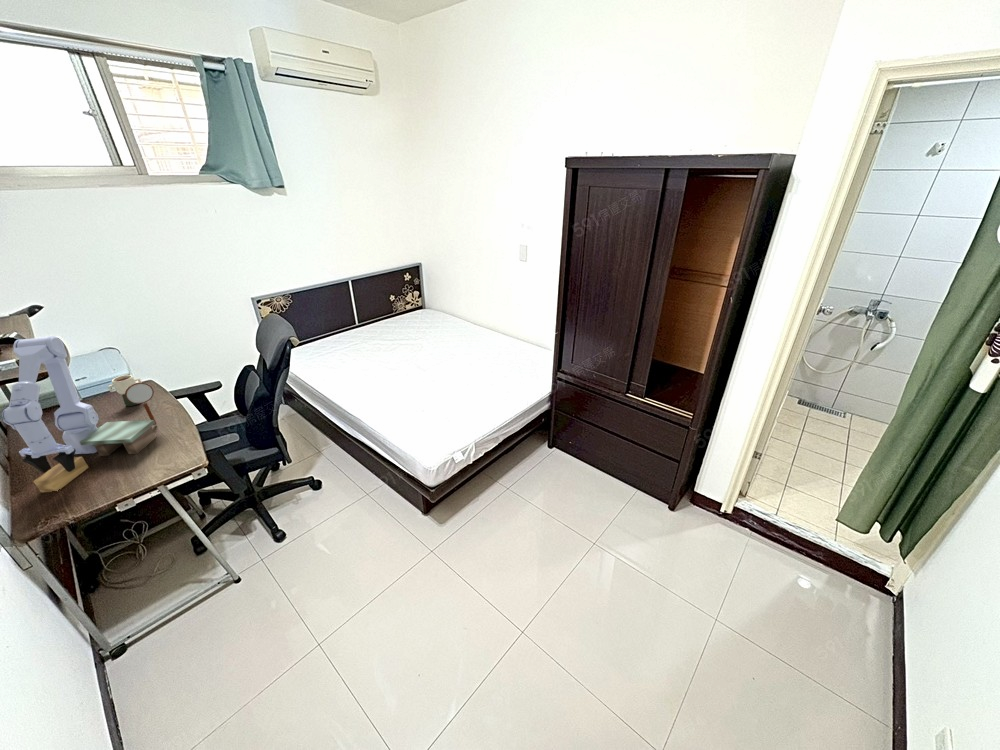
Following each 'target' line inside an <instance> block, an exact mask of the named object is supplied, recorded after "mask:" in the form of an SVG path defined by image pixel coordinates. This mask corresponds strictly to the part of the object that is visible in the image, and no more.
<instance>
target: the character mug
mask: <svg viewBox="0 0 1000 750" xmlns="http://www.w3.org/2000/svg"><path fill="white" fill-rule="evenodd" d="M136 381H137V382H136ZM111 383H112V384H110V385H107V387H108V389H109V392H110V393H114V392H116V393H118V394H119V395H121V397H122V400H123V403H124V405H125V406H127V407H129V406H136V405H137V404H135V403H131V402H129V401H128V400H127V399H126V397H125V392H126V390H127V388H128V387H129V386H131V385H133V384H135V383H143V382H142V380H141V378H139V377H137V378H134V376H133V375H131V374H123V375H120V376H117V377H114V378H113V379H112V380H111ZM113 387H114V389H113Z"/></svg>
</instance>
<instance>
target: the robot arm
mask: <svg viewBox="0 0 1000 750" xmlns="http://www.w3.org/2000/svg"><path fill="white" fill-rule="evenodd" d="M12 348H13V353H14V354H15V357H17V358H18V360H19V361H18V366H19V367H18V382H16V383H14V384H13V385H12V388H11V393H10V399H9V405H8V406H7V407H6V408H5V409H3V411H2V419H3V420H2V421H3V423H4V424H6V425H8V426H10V427H11V428H12V430H16V431H17V433H18V434H19V436H21V438H22V440H23V441H24V443H25V444H26V446H27V447H24V448H22V449H20V450H19V451H18V453H19V455H20V456H21V457H25V458H23V459H22V462H23V463H26V464H28V465H31V466H32V467H34V468H36V469H38V471H40V472H41V473H43V474H44V473H46V472H47V471H48V470H50V469H51V468H52V467H51V465H50V463H49V461H48V459H47V456H48V455H52V454H54V455H55V454H57V455H56V456H55V457H53V458H52V459H53V461H56V462H58V463H60V464H61V465H62V466H63V467H64V468H65V469H66V471H68V472H71V471H72V470H74V469H75V463H74V457H75V455H82V454H83V455H86V454H96V453H98V451H97V450H96V448H95V446H94V445H81V444H80V443H79V441H81V440H82V439H84V438H85V437H87V436H88V435H89V434H91V433H92V432H94V431H95V430H96V429H98V428H99V427H97V424H98V423H99V414H98V413H97V412H96V411H95V409H94V406H93V405H91V404H89V403H85V402H82V401H81V400H80V396H79V394H78V391H77V388H76V386H75V382H74V380H73V378H72V377H73V376H72V374H71V372H70V368H69V367H68V363H67V360H66V358H67V357H68V354H67V350H66V347H65V344H64V342H63V341H62V340H61V339H60V338H58V337H56V336H54V335H49V336H45V337H44V336H43V337H35V338H33V337H32V338H25V339H16V340H15V341H14V343H13V346H12ZM42 364H43V365H44V366H45V369H46V371H47V374H48V377H49V380H50V382H51V385H52V387H53V391H54V393H55V396H56V399H57V401H58V405H59V406H60V407H59V408H57V409H56V410H55V411H54V412H53V414H54V415H53V416H54V424H55V427H56V428H57V430H59V431H61V432H63V433H62V441H63V443H65V444H62V443H58V442H56V440H55V438H54V437H53V435H52V433H51V432H50V430H49V429H48V427H47V426H46V424H45V422H44V421H43V420H42V417H43V416H42V415H43V410H42V407H41V402H39V399H40V391H41V386H40V385H39V384H38V383H37V380H38V376H39V372H40V370H41V365H42Z"/></svg>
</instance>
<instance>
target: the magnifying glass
mask: <svg viewBox="0 0 1000 750" xmlns="http://www.w3.org/2000/svg"><path fill="white" fill-rule="evenodd" d="M154 393H155V391H154V388H153V386H151V385H150V384H149V383H147V382H142V383H139V382H136V383H135V384H133V385H131V386H129V387H128V388H127V390H126V392H125V397H126V399H127V400H128V401H129V402H131V403H135V404H136V405H141V404H142V405H143V408H144V410H145V411H146V415H148V417H149V420H154V421H155V424H154V425H153V426H154V427H157V421H156V420H155V417H154V416H153V413H152V412H151V409H150V407H149V405H148V403H147V402H148V401H150V400H152V398H153V396H154Z"/></svg>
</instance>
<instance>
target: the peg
mask: <svg viewBox="0 0 1000 750" xmlns="http://www.w3.org/2000/svg"><path fill="white" fill-rule="evenodd" d="M74 463H75V469H74V470H72V471H71V472H68V471H66V469H65V468H64V467H63V466H62V465H61V464H60V463H59V462H58V463H57V464H55V465H54V466H53V467H51V469H50V470H48V471H47V472H46V473H43V474H41V475H40V476H39V477H37V478H36V479H34V480H33V483H34V484H35V486H36V487H37V488H38V490H39V492H40V493H53V492H52V491H57V492H59V491H60V490H62V489H63V488H64V487H65V486H67V485H68V484H69V483H70V482H71V481H74V479H76V478H77V477H78V476H79V475H81V474H82V473H83V472H85V471H86V470H87V469H89V465H88V463H86V460H85V459H84V457H83V456H74ZM59 489H60V490H59ZM58 490H59V491H58Z"/></svg>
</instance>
